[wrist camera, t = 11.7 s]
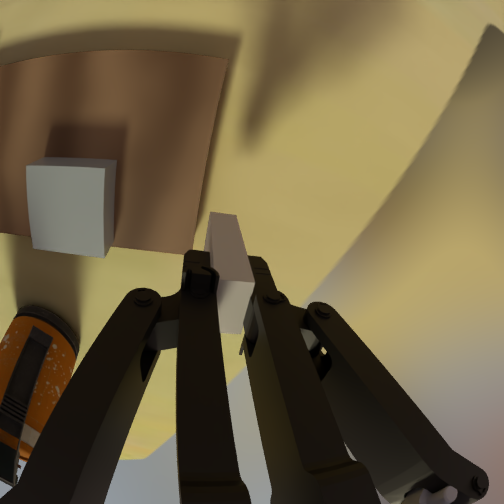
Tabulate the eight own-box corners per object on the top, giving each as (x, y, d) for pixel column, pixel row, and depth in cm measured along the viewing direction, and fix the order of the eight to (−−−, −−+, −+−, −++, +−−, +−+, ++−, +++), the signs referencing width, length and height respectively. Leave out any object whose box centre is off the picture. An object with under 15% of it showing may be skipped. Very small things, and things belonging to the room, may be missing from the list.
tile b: (47, 233, 17) (33, 248, 15) (43, 157, 14) (26, 165, 12) (113, 240, 19) (104, 258, 16) (117, 160, 16) (105, 168, 14)
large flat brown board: (-14, 217, 17) (-28, 228, 15) (-13, 74, 11) (-29, 75, 8) (192, 240, 22) (191, 255, 20) (225, 65, 16) (228, 59, 14)
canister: (15, 331, 24) (-32, 464, 7) (26, 274, 21) (-56, 444, 4) (71, 365, 28) (45, 504, 11) (95, 318, 25) (56, 506, 8)
